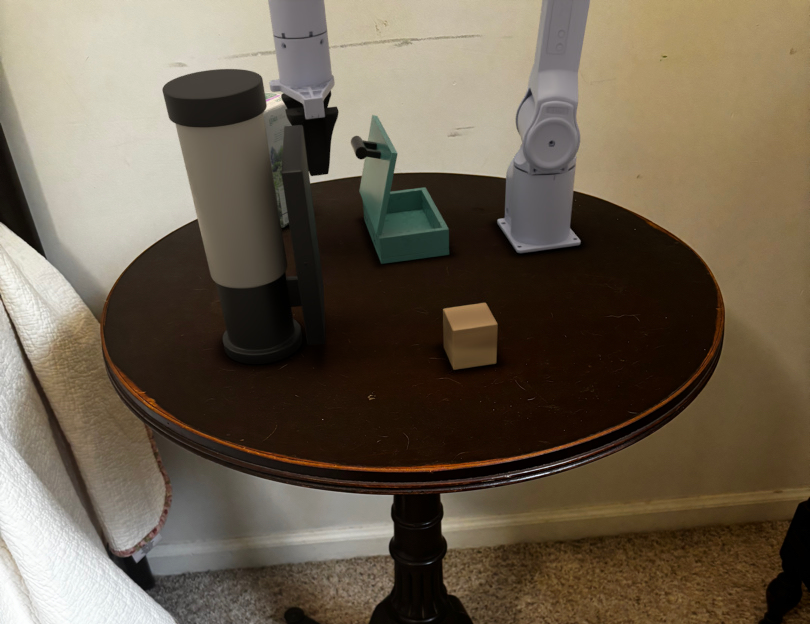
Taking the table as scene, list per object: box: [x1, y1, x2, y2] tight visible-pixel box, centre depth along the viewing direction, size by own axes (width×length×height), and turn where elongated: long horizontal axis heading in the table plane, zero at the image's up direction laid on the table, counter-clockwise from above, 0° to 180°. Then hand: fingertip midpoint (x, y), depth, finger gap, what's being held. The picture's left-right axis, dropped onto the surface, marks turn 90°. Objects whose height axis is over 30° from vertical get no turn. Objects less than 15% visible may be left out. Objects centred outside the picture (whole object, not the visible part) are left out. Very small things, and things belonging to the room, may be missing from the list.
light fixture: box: [162, 68, 327, 365], centre depth 76 cm, size 12×11×25 cm
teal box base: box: [361, 186, 450, 265], centre depth 100 cm, size 8×13×3 cm, turn 11°
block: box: [442, 302, 499, 371], centre depth 79 cm, size 4×4×4 cm
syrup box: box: [263, 91, 292, 229], centre depth 102 cm, size 6×6×14 cm
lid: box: [350, 114, 398, 235], centre depth 95 cm, size 9×13×4 cm
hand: (316, 166), depth 93 cm, fingers open, 4 cm apart
